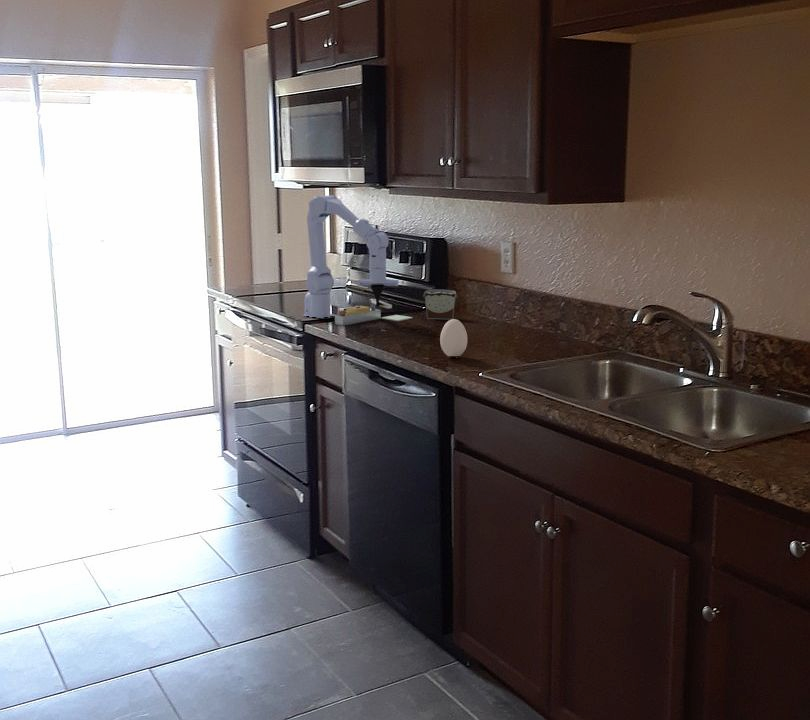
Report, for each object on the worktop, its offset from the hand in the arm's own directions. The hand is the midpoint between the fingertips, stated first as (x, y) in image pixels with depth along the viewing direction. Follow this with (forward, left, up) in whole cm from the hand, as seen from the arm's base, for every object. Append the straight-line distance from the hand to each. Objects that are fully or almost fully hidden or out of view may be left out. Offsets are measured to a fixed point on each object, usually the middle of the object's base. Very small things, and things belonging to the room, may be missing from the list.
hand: (377, 306), depth 319 cm
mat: (-1, +11, -6) cm, 13 cm away
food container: (+10, +23, -6) cm, 26 cm away
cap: (-7, -2, -3) cm, 8 cm away
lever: (-1, +2, 0) cm, 3 cm away
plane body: (-7, -2, -6) cm, 10 cm away
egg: (+56, -26, -6) cm, 62 cm away
